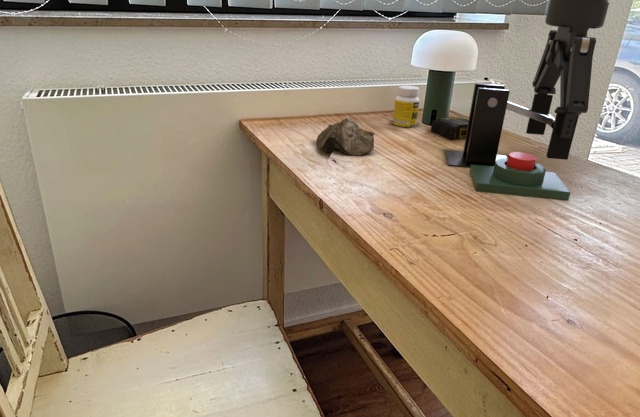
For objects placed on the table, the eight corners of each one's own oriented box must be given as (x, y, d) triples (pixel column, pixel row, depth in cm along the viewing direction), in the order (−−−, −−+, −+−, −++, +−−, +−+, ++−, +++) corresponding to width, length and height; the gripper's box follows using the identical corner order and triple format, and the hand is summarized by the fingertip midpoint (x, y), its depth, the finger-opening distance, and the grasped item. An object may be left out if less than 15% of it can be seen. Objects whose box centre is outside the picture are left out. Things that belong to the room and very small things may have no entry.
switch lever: (546, 126, 78) (554, 112, 77) (555, 134, 73) (563, 119, 72) (475, 99, 78) (482, 85, 77) (479, 106, 73) (486, 91, 72)
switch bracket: (504, 162, 82) (520, 84, 77) (513, 178, 75) (532, 94, 70) (443, 156, 84) (455, 80, 79) (447, 171, 77) (460, 88, 71)
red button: (530, 165, 70) (532, 153, 69) (536, 173, 67) (539, 161, 66) (504, 162, 70) (506, 150, 70) (508, 170, 67) (511, 158, 66)
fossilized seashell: (386, 142, 81) (344, 137, 89) (371, 109, 77) (328, 108, 85) (360, 172, 78) (319, 165, 86) (343, 140, 75) (301, 136, 82)
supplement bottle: (413, 133, 96) (419, 90, 93) (389, 130, 98) (394, 87, 94) (417, 128, 101) (422, 86, 97) (394, 125, 102) (399, 84, 98)
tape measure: (428, 135, 96) (430, 116, 94) (457, 133, 98) (460, 115, 97) (448, 145, 90) (451, 125, 88) (479, 143, 92) (482, 123, 91)
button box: (551, 186, 73) (557, 160, 71) (566, 207, 66) (574, 179, 64) (468, 178, 74) (472, 152, 73) (474, 197, 67) (479, 170, 66)
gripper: (531, -5, 80) (505, 123, 88) (579, -5, 57) (538, 168, 66) (580, -3, 78) (549, 127, 87) (648, -2, 56) (598, 173, 65)
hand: (544, 145), depth 76 cm, fingers open, 13 cm apart
